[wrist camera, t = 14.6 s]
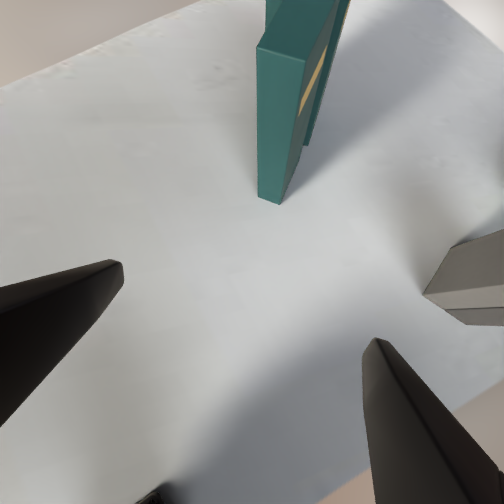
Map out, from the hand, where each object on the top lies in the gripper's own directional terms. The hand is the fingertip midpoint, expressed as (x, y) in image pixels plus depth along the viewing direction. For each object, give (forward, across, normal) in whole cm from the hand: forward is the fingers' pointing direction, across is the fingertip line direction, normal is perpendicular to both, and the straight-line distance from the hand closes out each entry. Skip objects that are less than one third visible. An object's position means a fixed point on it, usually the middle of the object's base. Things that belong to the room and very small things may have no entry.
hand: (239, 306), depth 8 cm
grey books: (+15, -17, +4) cm, 23 cm away
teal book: (+19, +1, 0) cm, 19 cm away
